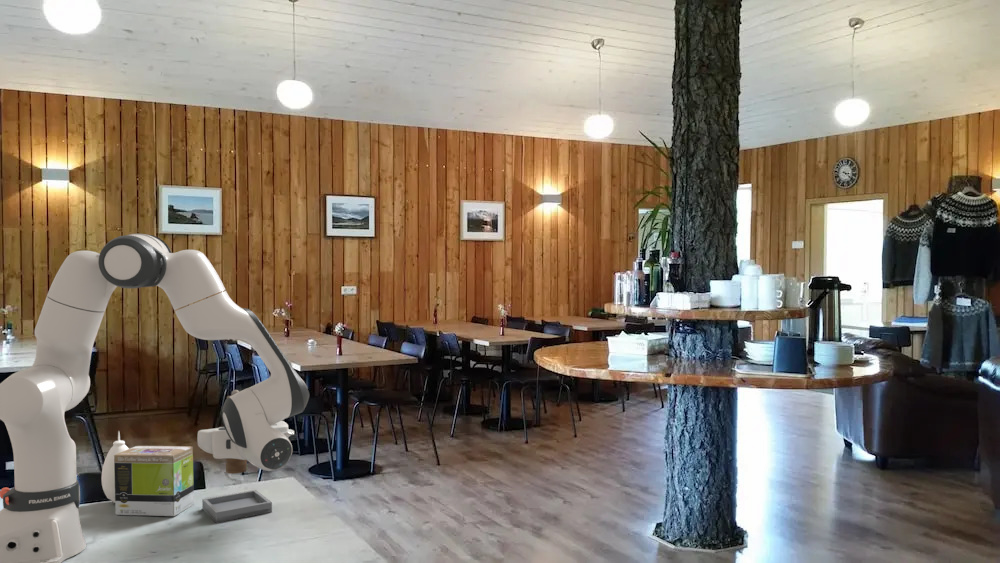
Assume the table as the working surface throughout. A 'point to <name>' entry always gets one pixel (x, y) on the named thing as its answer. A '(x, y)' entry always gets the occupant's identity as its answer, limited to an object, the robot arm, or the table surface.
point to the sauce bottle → (111, 468)
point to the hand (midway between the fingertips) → (234, 428)
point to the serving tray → (236, 506)
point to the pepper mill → (235, 464)
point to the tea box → (154, 480)
